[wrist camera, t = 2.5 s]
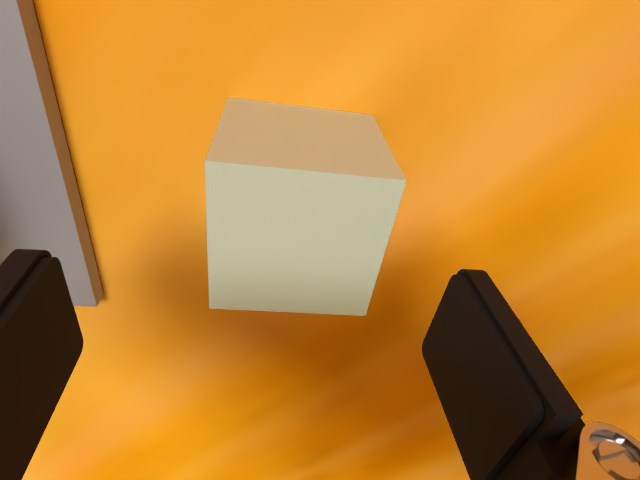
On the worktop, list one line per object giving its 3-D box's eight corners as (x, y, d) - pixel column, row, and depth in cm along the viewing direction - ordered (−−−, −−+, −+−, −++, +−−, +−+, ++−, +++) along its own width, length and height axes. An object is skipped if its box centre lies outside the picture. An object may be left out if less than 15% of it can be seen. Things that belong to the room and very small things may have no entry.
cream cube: (372, 114, 14) (406, 180, 10) (346, 229, 17) (365, 315, 13) (228, 96, 13) (204, 160, 9) (227, 219, 16) (209, 308, 12)
